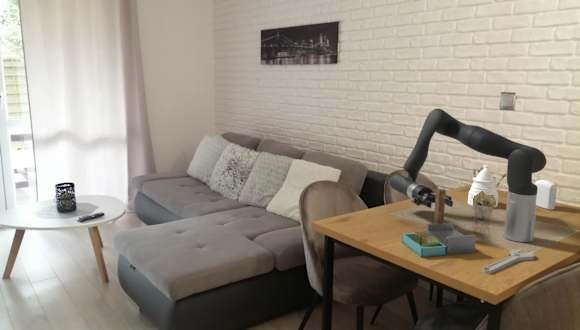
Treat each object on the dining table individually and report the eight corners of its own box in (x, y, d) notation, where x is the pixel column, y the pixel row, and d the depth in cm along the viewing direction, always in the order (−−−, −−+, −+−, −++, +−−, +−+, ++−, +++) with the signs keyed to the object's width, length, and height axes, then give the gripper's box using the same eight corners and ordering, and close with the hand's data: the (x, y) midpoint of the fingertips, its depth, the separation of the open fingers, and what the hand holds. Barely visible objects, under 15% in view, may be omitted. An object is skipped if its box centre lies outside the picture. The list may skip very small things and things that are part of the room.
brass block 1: (425, 231, 156) (414, 231, 155) (431, 235, 152) (420, 235, 151) (424, 242, 156) (414, 242, 156) (430, 246, 153) (419, 246, 152)
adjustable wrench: (488, 276, 132) (489, 270, 132) (470, 268, 137) (470, 263, 137) (536, 258, 145) (537, 253, 144) (518, 252, 150) (518, 247, 150)
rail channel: (450, 238, 162) (452, 222, 161) (474, 252, 148) (475, 235, 147) (425, 240, 160) (426, 224, 159) (447, 255, 146) (448, 237, 145)
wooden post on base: (435, 229, 171) (438, 186, 168) (447, 237, 163) (451, 192, 159) (428, 229, 171) (430, 187, 167) (440, 237, 162) (443, 192, 159)
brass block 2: (432, 235, 151) (422, 236, 150) (438, 239, 147) (427, 240, 147) (432, 246, 152) (421, 247, 151) (438, 251, 148) (427, 252, 147)
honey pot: (470, 199, 216) (473, 162, 212) (499, 202, 209) (502, 165, 206) (465, 205, 205) (468, 167, 201) (495, 209, 198) (499, 170, 195)
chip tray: (425, 240, 160) (425, 232, 159) (446, 255, 146) (446, 246, 146) (401, 241, 158) (402, 233, 157) (421, 257, 144) (421, 248, 144)
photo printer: (530, 204, 207) (533, 178, 205) (538, 203, 208) (541, 177, 206) (547, 210, 197) (551, 183, 195) (556, 209, 198) (559, 182, 196)
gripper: (404, 185, 177) (424, 195, 161) (436, 183, 180) (459, 193, 164) (403, 203, 178) (422, 215, 163) (435, 201, 181) (457, 213, 166)
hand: (441, 204), depth 164 cm, fingers open, 8 cm apart
